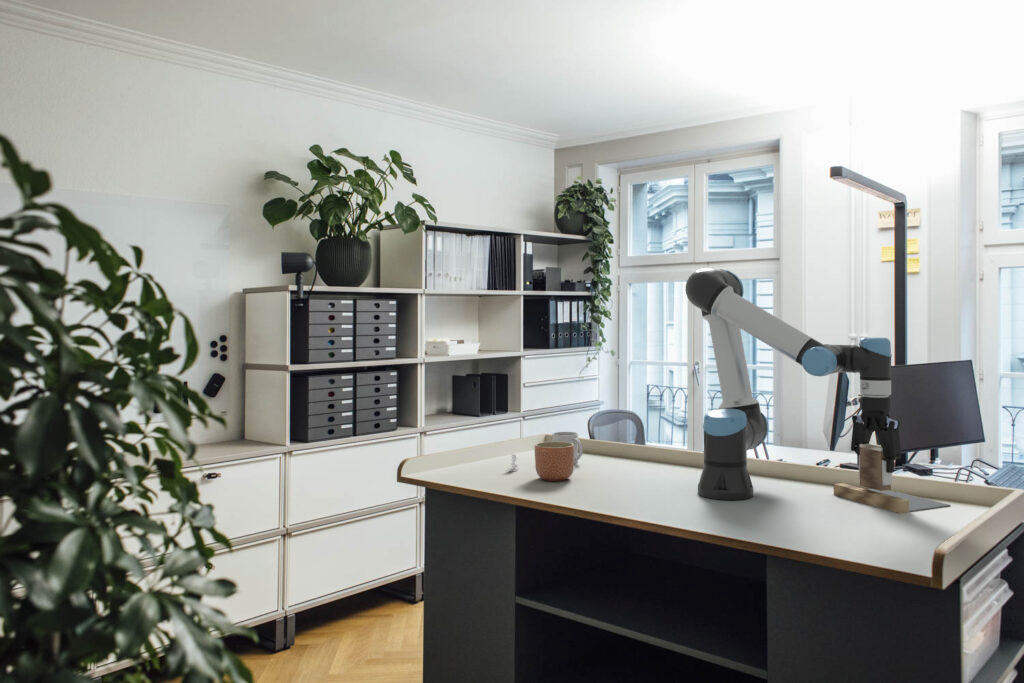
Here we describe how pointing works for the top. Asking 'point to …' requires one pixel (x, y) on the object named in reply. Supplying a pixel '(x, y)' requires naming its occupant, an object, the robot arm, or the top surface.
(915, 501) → the mat
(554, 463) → the planter
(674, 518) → the top surface
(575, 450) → the mug
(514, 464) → the figurine
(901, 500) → the rail
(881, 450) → the slab
